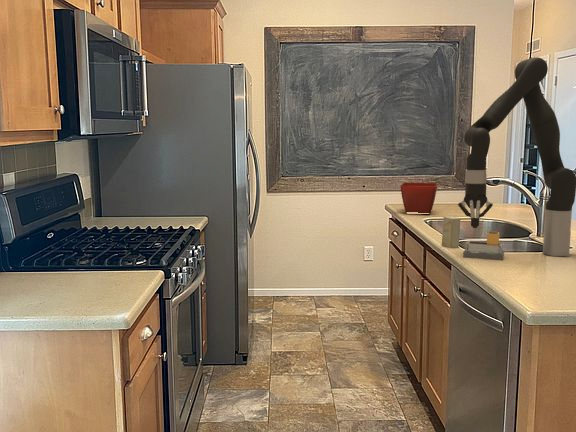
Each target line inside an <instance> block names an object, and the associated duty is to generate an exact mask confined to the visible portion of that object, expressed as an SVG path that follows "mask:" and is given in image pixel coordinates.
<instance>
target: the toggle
mask: <svg viewBox="0 0 576 432" xmlns="http://www.w3.org/2000/svg"><path fill="white" fill-rule="evenodd" d="M486 242H487V245H499V243H500V232H499V231H496V230H495V231H494V230H489V231H488V232H487V234H486Z"/></svg>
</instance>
